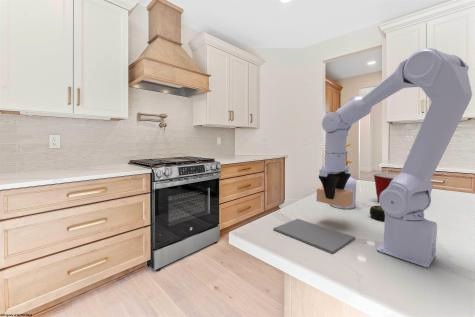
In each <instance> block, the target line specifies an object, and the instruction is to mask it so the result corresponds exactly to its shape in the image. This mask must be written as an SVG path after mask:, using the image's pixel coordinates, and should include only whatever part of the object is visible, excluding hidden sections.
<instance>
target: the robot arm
mask: <svg viewBox="0 0 475 317" xmlns="http://www.w3.org/2000/svg"><path fill="white" fill-rule="evenodd" d="M469 67H470V66H469V65H468V64H467V63H466V62H465V61H464V60H463V59H462V58H461V57H459V56H458V55H454V54H449V53H446V52H443V51H441V50H440V51H439V50H438V49H436V48H434V47H424V48H421V49H419V50H417V51H415V52H414V53H412V54H411V55H410V56H409V57H408V58H406V59H404V60H403V61H401V62H399V64H398V66H397V68H396V69H395V70H394V71H393V72H391V74H389V75H388V76H386V78H384V79H383V80H382V81H381V82H379V83H378V84H377V85H376V86H374V87H373V88H372V89H371V90H369V91H368V92H367V93H366V94H365V95H363V96H360V95H356V96H352V97H350V98H349V100H348V102H347V103H345V104H344V105H343V106H342V107H338V108H337V109H336V111H334V112H331V111H330V112H327V113H326V114H325V115H324V116H323V118H322V120H321V121H322V122H321V127H322V129H323V130H324V131H325V155H324V156H325V158H324V159H325V161H324V166H321V169H319V174H318V179H319V180H320V182H321V186H322V187H323V188H324V192H325V196H326V198H328V199H333V198H334V195H335V188H336V189H342V190H344V188H345V185H346V183H347V181H348V179H349V178H350V176H351V173H349V172H350V170H349V169H350V166H349V165H346V161H347V160H346V159H347V158H346V157H347V147H346V144H347V140H348V139H347V137H348V136H349V131H350V130H351V128H352V126H353V125H354V124H355V123H357V122H358V121H360V120H361V119H363V118H365V117H367V116H369V114H370V113H371V112H372V107H373V106H376V105H377V104H379V103H381V102H382V101H384V100H386V99H387V98H390V97H391V96H392V95H394V94H396V93H397V92H400V91H402V90H403V89H407V88H409V89H410V88H420V89H421V90H422V91H423V92H424V93H425V95H426V96H427V98H428V99H429V100H430V105H429V107H428V109H427V112H426V115H425V116H424V119H423V120H422V123H421V125H420V127H419V130H418V131H417V134H416V136H415V139H414V142H413V144H412V146H411V148H410V150H409V152H408V155H407V158H406V160H405V162H404V164H403V166H402V168H401V170H400V173H398V174H396V175H397V176H396V177H395V178H394V179H393V180H392V181H391V182H390V184H389V186H388V187H387V188H386V189H385V190H384V191H382V192H381V194H380V196H379V202H378V204H379V206H381V208H382V209H383V210H384V211H385V212H384V214H385V220H384V226H383V227H384V228H383V230H384V231H383V243H381V244H380V245H379V246H378V247H377V248H376V251H377V252H379V253H382V254H386V255H388V256H391V257H394V258H397V259H401V260H403V261H406V262H409V263H412V264H416V265H418V266H421V267H424V268H429V267H430V266H431V264H432V263H433V261H434V259H435V257H436V255H437V254H436V252H437V249H436V247H437V232H438V224H437V222H435V221H433V220H429V219H426V218H425V210H427V209H429V207H430V206H431V203H432V196H431V194H432V190H433V188H434V185H433V183H432V178H433V176H434V174H435V171H436V170H437V168H438V166H439V164H440V162H441V160H442V158H443V156H444V154H445V152H446V150H447V147H448V146H449V144H450V142H451V140H452V138H453V136H454V133H455V132H456V130H457V128H458V127H459V126H458V125H459V124H460V122H461V120H462V118H463V116H464V114H465V113H466V112H465V111H466V110H467V108H468V105H469V104H470V101H471V100H472V96H473V91H472V87H471V82H470V79H469V74H468V72H469V69H470V68H469ZM345 172H348V173H345ZM351 177H352V176H351Z"/></svg>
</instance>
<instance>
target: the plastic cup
mask: <svg viewBox="0 0 475 317" xmlns="http://www.w3.org/2000/svg"><path fill="white" fill-rule="evenodd" d="M372 175H373V178H374V184H375V190H376V198H377V202H378V203H379V196H380V194H381V192H382V191H384V190H385V189H386V188H387V187H388V186H389V184H390V182H391V181H392V180H393V179H394V178H395V177H396V176H397V175H398V174H394V173H393V174H392V173H385V172H373V173H372Z"/></svg>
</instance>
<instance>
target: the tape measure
mask: <svg viewBox="0 0 475 317" xmlns="http://www.w3.org/2000/svg"><path fill="white" fill-rule="evenodd" d="M384 212H385V211H384V210H383V209H382V208H381V206H380V205H377V204H376V205H372V206H370V208H369V215H370V216H371V217H372V218H374V219H376V220H381V221H385V214H384Z"/></svg>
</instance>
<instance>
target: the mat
mask: <svg viewBox="0 0 475 317" xmlns="http://www.w3.org/2000/svg"><path fill="white" fill-rule="evenodd" d="M272 231H274V232H277V233H280V234H282V235H285V236H287V237H290V238H292V239H295V240H297V241H299V242H302V243H305V244H307V245H309V246H312V247H314V248H316V249H320V250H322V251H323V252H326V253H328V254H331V255H333V254H335V253H337V252H338V251H340V250H341V249H343V248H344V247H346V246H348V245H349V244H350V243H351V242H353V241H355V240H356V237H355V236H353V235H350V234H347V233H344V232H341V231H338V230H335V229H331V228H328V227H325V226H322V225H320V224H316V223H313V222H309V221H306V220H304V219H300V218H296V219H293V220H291V221H288V222H285V223H283V224H280V225H277V226H276V227H273V230H272Z"/></svg>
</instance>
